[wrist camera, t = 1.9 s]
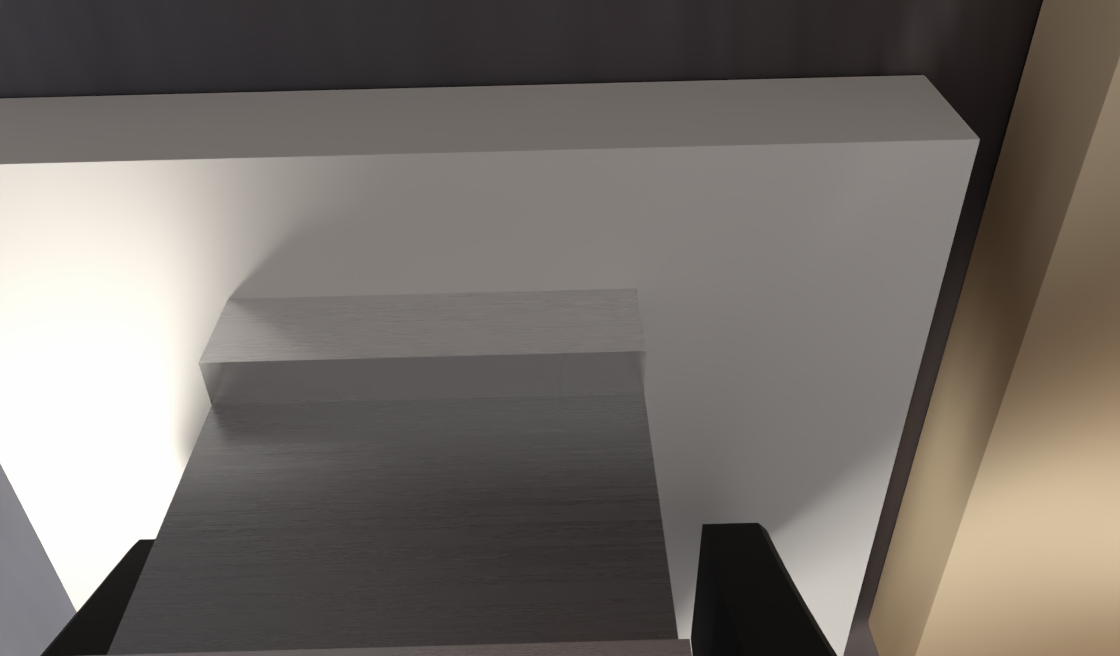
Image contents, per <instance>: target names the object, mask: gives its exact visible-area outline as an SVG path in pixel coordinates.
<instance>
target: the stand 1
mask: <svg viewBox="0 0 1120 656" xmlns="http://www.w3.org/2000/svg"><path fill="white" fill-rule="evenodd" d="M979 141H980V139H979V137H978V136H977V135H976V134H975V133H974V132H973V130H972V129H971V128H970V127H969V126H968V125H967V124H966V122H965V121H964V120H963V119H962V118H961V117H960V115H959V114H958V113H957V112H956V111H955V110H954V109H953V107H952V106H951V105H950V104H949V103H948V102H947V100H946V99H945V98H944V97H943V96H942V95H941V94H940V92H939V91H938V90H937V89H936V88H935V87H934V85H933V84H932V83H931V82H930V81H929V80H928V79H927V77H926V76H925V75H906V76H866V77H827V78H787V79H748V80H708V81H669V82H630V83H590V84H551V85H511V86H472V87H432V88H393V89H354V90H314V91H275V92H235V93H196V94H157V95H117V96H78V97H38V98H0V463H1V465H2V467H3V469H4V471H5V473H6V475H7V477H8V479H9V481H10V483H11V485H12V487H13V489H14V491H15V492H16V494H17V496H18V498H19V500H20V502H21V504H22V506H23V508H24V510H25V512H26V514H27V516H28V518H29V520H30V522H31V524H32V526H33V527H34V529H35V531H36V533H37V535H38V537H39V539H40V541H41V543H42V545H43V547H44V549H45V551H46V553H47V555H48V557H49V559H50V561H51V562H52V564H53V566H54V568H55V570H56V572H57V574H58V576H59V578H60V580H61V582H62V584H63V586H64V588H65V590H66V592H67V594H68V596H69V597H70V599H71V601H72V603H73V605H74V607H75V609H76V611H77V612H78V611H79V609H80V608H81V607H82V606H83V605H84V603H85V602H86V601H87V600H88V599H89V597H90V596H91V595H92V594H93V593H94V591H95V590H96V589H97V588H98V587H99V585H100V584H101V583H102V582H103V581H104V579H105V578H106V577H107V576H108V575H109V573H110V572H111V571H112V570H113V569H114V567H115V566H116V565H117V564H118V563H119V561H120V560H121V559H122V558H123V557H124V556H125V554H126V553H127V552H128V551H129V550H130V548H131V547H132V546H133V545H134V544H135V543H136V542H137V541H138V540H139V539H156V537H157V534H158V532H159V529H160V527H161V525H162V522H163V520H164V517H165V515H166V513H167V510H168V508H169V506H170V503H171V501H172V498H173V496H174V494H175V491H176V489H177V487H178V484H179V482H180V479H181V477H182V475H183V472H184V470H185V467H186V465H187V463H188V460H189V458H190V456H191V453H192V451H193V448H194V446H195V444H196V441H197V439H198V437H199V434H200V432H201V429H202V427H203V425H204V422H205V420H206V417H207V415H208V413H209V410H210V408H211V406H212V405H211V402H210V398H209V395H208V392H207V389H206V386H205V382H204V379H203V376H202V373H201V370H200V367H199V360H200V358H201V356H202V354H203V352H204V350H205V347H206V345H207V343H208V341H209V339H210V337H211V334H212V332H213V330H214V328H215V326H216V324H217V321H218V319H219V317H220V315H221V313H222V311H223V308H224V306H225V304H226V302H227V300H228V299H250V298H288V297H326V296H364V295H403V294H441V293H479V292H517V291H555V290H593V289H631V288H637V293H638V300H639V306H640V313H641V320H642V326H643V333H644V340H645V346H646V367H645V389H644V395H645V402H646V409H647V416H648V424H649V431H650V438H651V445H652V452H653V459H654V467H655V474H656V481H657V488H658V495H659V503H660V510H661V517H662V524H663V531H664V538H665V546H666V553H667V560H668V567H669V574H670V581H671V589H672V596H673V603H674V610H675V617H676V624H677V632H678V639H690V645H691V630H692V620H693V611H694V601H695V591H696V582H697V572H698V562H699V553H700V543H701V534H702V524H725V523H759V524H760V525H762V526H763V527H764V528H765V529H766V530H767V531H768V533H769V536H770V538H771V540H772V542H773V544H774V546H775V548H776V550H777V552H778V554H779V555H780V557H781V559H782V561H783V563H784V565H785V567H786V569H787V571H788V573H789V574H790V576H791V578H792V580H793V582H794V583H795V585H796V587H797V589H798V591H799V592H800V594H801V596H802V598H803V599H804V601H805V603H806V605H807V606H808V608H809V610H810V611H811V613H812V615H813V616H814V618H815V620H816V621H817V623H818V625H819V627H820V628H821V630H822V632H823V633H824V635H825V637H826V638H827V640H828V641H829V643H830V645H831V646H832V648H833V649H834V651H835V653H836V654H837V656H843V654H844V650H845V646H846V642H847V639H848V635H849V631H850V627H851V624H852V620H853V616H854V612H855V608H856V605H857V601H858V597H859V593H860V590H861V586H862V582H863V578H864V575H865V571H866V567H867V563H868V559H869V556H870V552H871V548H872V544H873V541H874V537H875V533H876V529H877V526H878V522H879V518H880V514H881V511H882V507H883V503H884V499H885V495H886V492H887V488H888V484H889V480H890V477H891V473H892V469H893V465H894V462H895V458H896V454H897V450H898V446H899V443H900V439H901V435H902V431H903V428H904V424H905V420H906V416H907V413H908V409H909V405H910V401H911V397H912V394H913V390H914V386H915V382H916V379H917V375H918V371H919V367H920V364H921V360H922V356H923V352H924V348H925V345H926V341H927V337H928V333H929V330H930V326H931V322H932V318H933V315H934V311H935V307H936V303H937V299H938V296H939V292H940V288H941V284H942V281H943V277H944V273H945V269H946V266H947V262H948V258H949V254H950V250H951V247H952V243H953V239H954V235H955V232H956V228H957V224H958V220H959V217H960V213H961V209H962V205H963V201H964V198H965V194H966V190H967V186H968V183H969V179H970V175H971V171H972V168H973V164H974V160H975V156H976V152H977V149H978V145H979ZM691 652H692V647H691Z"/></svg>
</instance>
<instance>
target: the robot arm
mask: <svg viewBox="0 0 1120 656" xmlns="http://www.w3.org/2000/svg"><path fill="white" fill-rule="evenodd" d="M154 541H155V539H139V540H138V541H137V542H136V543H135V544H134V545H133V546H132V547H131V548H130V550H129V551H128V552H127V553H126V554H125V556H124V557H123V558H122V559H121V560H120V561H119V563H118V564H117V565H116V566H115V567H114V569H113V570H112V571H111V572H110V573H109V575H108V576H107V577H106V578H105V579H104V581H103V582H102V583H101V584H100V585H99V587H98V588H97V589H96V590H95V591H94V593H93V594H92V595H91V596H90V597H89V599H88V600H87V601H86V602H85V603H84V605H83V606H82V607H81V608H80V609H79V611H78V612H77V613H76V614H75V615H74V617H73V618H72V619H71V620H70V621H69V623H68V624H67V625H66V626H65V627H64V628H63V630H62V631H61V632H60V633H59V634H58V636H57V637H56V638H55V639H54V640H53V642H52V643H51V644H50V645H49V646H48V647H47V649H46V650H45V651H44V652H43V653H42V655H41V656H90V655H107V653H108V651H109V648H110V646H111V644H112V641H113V639H114V637H115V634H116V632H117V629H118V627H119V625H120V622H121V620H122V617H123V615H124V613H125V610H126V608H127V606H128V603H129V601H130V598H131V596H132V594H133V591H134V589H135V587H136V584H137V582H138V579H139V577H140V575H141V572H142V570H143V567H144V565H145V563H146V560H147V558H148V556H149V553H150V551H151V548H152V546H153V544H154ZM691 647H692V656H837V654H836V653H835V651H834V649H833V648H832V646H831V645H830V643H829V641H828V640H827V638H826V637H825V635H824V633H823V632H822V630H821V628H820V627H819V625H818V623H817V621H816V620H815V618H814V616H813V615H812V613H811V611H810V610H809V608H808V606H807V605H806V603H805V601H804V599H803V598H802V596H801V594H800V592H799V591H798V589H797V587H796V585H795V583H794V582H793V580H792V578H791V576H790V574H789V573H788V571H787V569H786V567H785V565H784V563H783V561H782V559H781V557H780V555H779V554H778V552H777V550H776V548H775V546H774V544H773V542H772V540H771V538H770V536H769V533H768V531H767V530H766V529H765V528H764V527H763V526H762V525H760V524H759V523H725V524H702V534H701V543H700V553H699V562H698V572H697V582H696V591H695V601H694V611H693V620H692V630H691Z"/></svg>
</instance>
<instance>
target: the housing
mask: <svg viewBox="0 0 1120 656" xmlns="http://www.w3.org/2000/svg"><path fill="white" fill-rule="evenodd" d="M199 367H200V370H201V373H202V376H203V379H204V382H205V386H206V389H207V392H208V395H209V398H210V402H211V405H212V406H211V408H210V410H209V413H208V415H207V417H206V420H205V422H204V425H203V427H202V429H201V432H200V434H199V437H198V439H197V441H196V444H195V446H194V448H193V451H192V453H191V456H190V458H189V460H188V463H187V465H186V467H185V470H184V472H183V475H182V477H181V479H180V482H179V484H178V487H177V489H176V491H175V494H174V496H173V498H172V501H171V503H170V506H169V508H168V510H167V513H166V515H165V517H164V520H163V522H162V525H161V527H160V529H159V532H158V534H157V537H156V539H155V541H154V544H153V546H152V548H151V551H150V553H149V556H148V558H147V560H146V563H145V565H144V567H143V570H142V572H141V575H140V577H139V579H138V582H137V584H136V587H135V589H134V591H133V594H132V596H131V598H130V601H129V603H128V606H127V608H126V610H125V613H124V615H123V617H122V620H121V622H120V625H119V627H118V629H117V632H116V634H115V637H114V639H113V641H112V644H111V646H110V648H109V651H108V653H107V655H90V656H692V652H691V645H690V639H678V632H677V624H676V617H675V610H674V603H673V596H672V589H671V581H670V574H669V567H668V560H667V553H666V546H665V538H664V531H663V524H662V517H661V510H660V503H659V495H658V488H657V481H656V474H655V467H654V459H653V452H652V445H651V438H650V431H649V424H648V416H647V409H646V402H645V395H644V389H645V367H646V346H645V340H644V333H643V326H642V320H641V313H640V306H639V300H638V293H637V288H631V289H593V290H555V291H517V292H479V293H441V294H403V295H364V296H326V297H288V298H250V299H228V300H227V302H226V304H225V306H224V308H223V311H222V313H221V315H220V317H219V319H218V321H217V324H216V326H215V328H214V330H213V332H212V334H211V337H210V339H209V341H208V343H207V345H206V347H205V350H204V352H203V354H202V356H201V358H200V360H199Z"/></svg>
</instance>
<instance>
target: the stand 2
mask: <svg viewBox="0 0 1120 656" xmlns="http://www.w3.org/2000/svg"><path fill="white" fill-rule="evenodd" d="M868 624H869V627H870V630H871V633H872V636H873V639H874V642H875V645H876V648H877V651H878V654H879V656H1120V0H1043V3H1042V6H1041V10H1040V13H1039V17H1038V20H1037V24H1036V28H1035V31H1034V35H1033V38H1032V42H1031V45H1030V49H1029V52H1028V56H1027V60H1026V63H1025V67H1024V70H1023V74H1022V77H1021V81H1020V84H1019V88H1018V91H1017V95H1016V99H1015V102H1014V106H1013V109H1012V113H1011V116H1010V120H1009V123H1008V127H1007V131H1006V134H1005V138H1004V141H1003V145H1002V148H1001V152H1000V155H999V159H998V162H997V166H996V170H995V173H994V177H993V180H992V184H991V187H990V191H989V194H988V198H987V202H986V205H985V209H984V212H983V216H982V219H981V223H980V226H979V230H978V233H977V237H976V241H975V244H974V248H973V251H972V255H971V258H970V262H969V265H968V269H967V273H966V276H965V280H964V283H963V287H962V290H961V294H960V297H959V301H958V304H957V308H956V312H955V315H954V319H953V322H952V326H951V329H950V333H949V336H948V340H947V344H946V347H945V351H944V354H943V358H942V361H941V365H940V368H939V372H938V375H937V379H936V383H935V386H934V390H933V393H932V397H931V400H930V404H929V407H928V411H927V415H926V418H925V422H924V425H923V429H922V432H921V436H920V439H919V443H918V446H917V450H916V454H915V457H914V461H913V464H912V468H911V471H910V475H909V478H908V482H907V486H906V489H905V493H904V496H903V500H902V503H901V507H900V510H899V514H898V517H897V521H896V525H895V528H894V532H893V535H892V539H891V542H890V546H889V549H888V553H887V557H886V560H885V564H884V567H883V571H882V574H881V578H880V581H879V585H878V588H877V592H876V596H875V599H874V603H873V606H872V610H871V613H870V617H869V620H868Z"/></svg>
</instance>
